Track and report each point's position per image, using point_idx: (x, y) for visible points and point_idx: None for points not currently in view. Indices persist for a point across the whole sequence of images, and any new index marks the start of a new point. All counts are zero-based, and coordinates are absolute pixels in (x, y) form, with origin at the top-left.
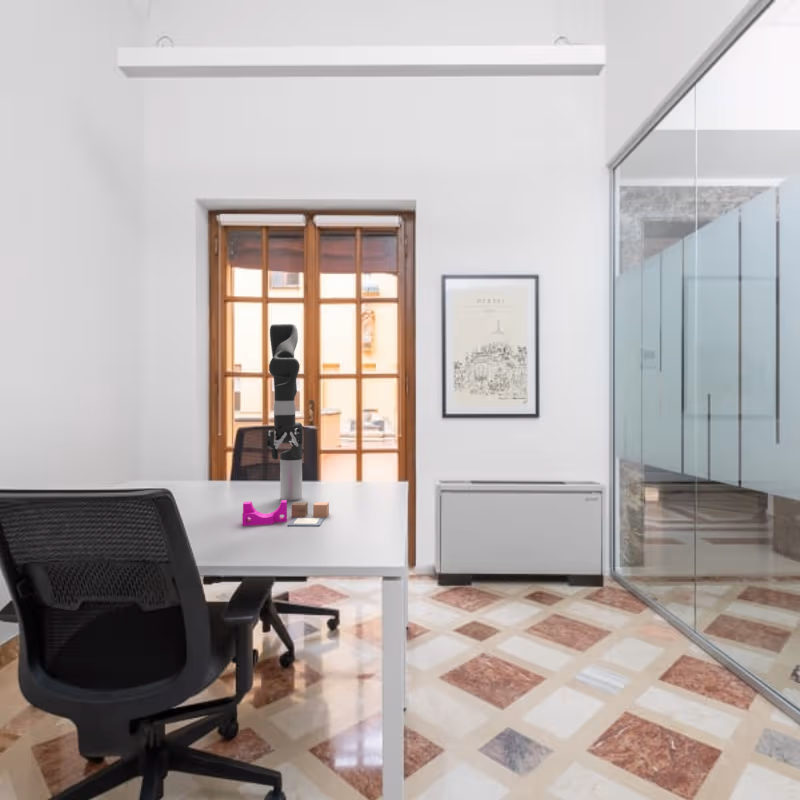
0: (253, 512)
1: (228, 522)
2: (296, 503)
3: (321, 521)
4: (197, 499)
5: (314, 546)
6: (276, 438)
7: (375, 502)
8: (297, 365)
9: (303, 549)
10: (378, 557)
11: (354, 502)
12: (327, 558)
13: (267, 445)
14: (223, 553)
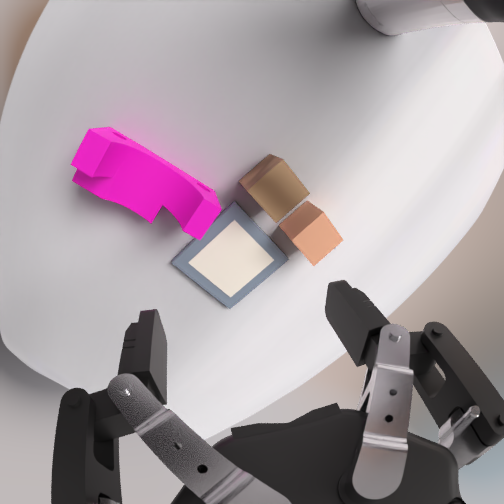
0: (105, 181)
1: (78, 104)
2: (272, 184)
3: (254, 287)
4: None
5: None
6: (188, 466)
7: (450, 205)
8: None
9: None
10: (195, 430)
11: (438, 170)
12: None
13: (67, 411)
14: (22, 326)
